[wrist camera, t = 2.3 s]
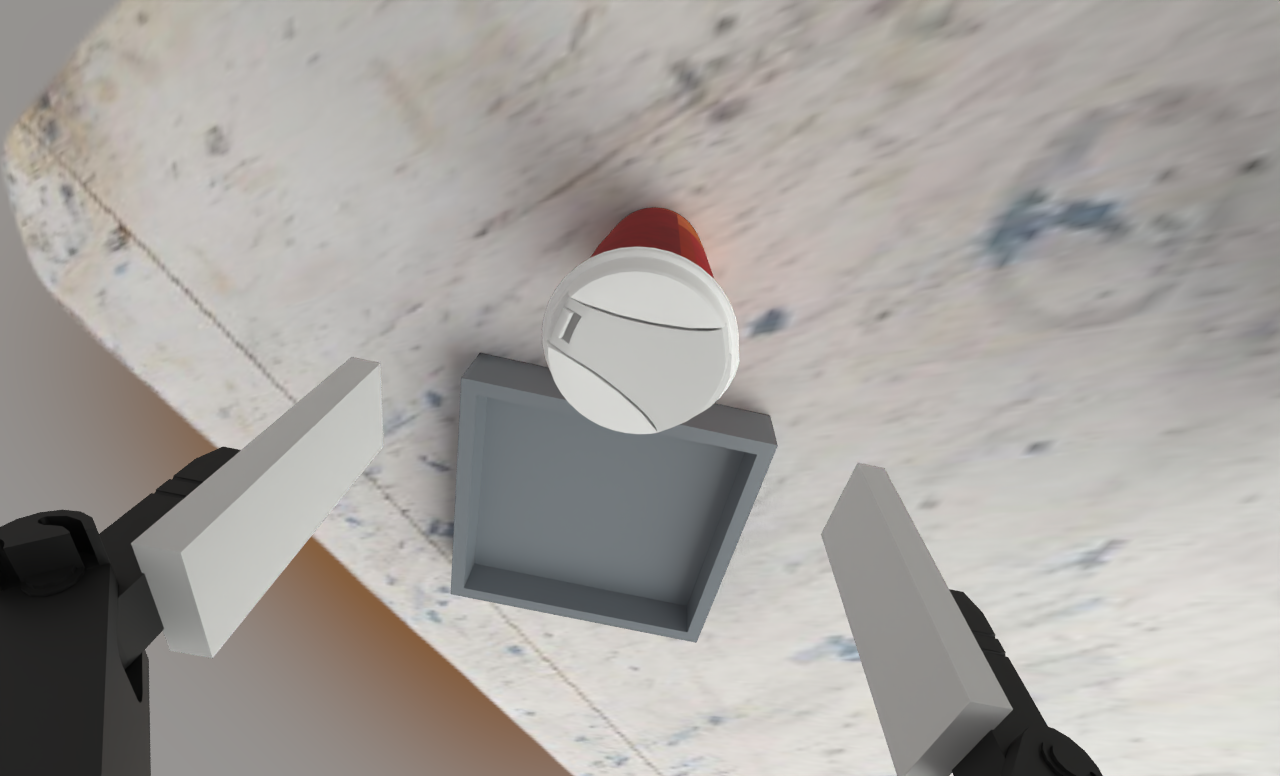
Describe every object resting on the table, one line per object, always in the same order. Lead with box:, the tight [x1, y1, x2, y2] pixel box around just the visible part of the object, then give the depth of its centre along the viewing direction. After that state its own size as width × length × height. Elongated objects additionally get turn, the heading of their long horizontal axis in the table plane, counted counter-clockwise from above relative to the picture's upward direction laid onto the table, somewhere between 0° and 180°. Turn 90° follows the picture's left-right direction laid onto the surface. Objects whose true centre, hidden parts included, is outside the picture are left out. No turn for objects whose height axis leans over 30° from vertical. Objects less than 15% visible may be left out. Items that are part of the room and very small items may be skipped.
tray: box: [451, 353, 778, 642], centre depth 40 cm, size 20×20×4 cm
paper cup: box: [542, 208, 740, 434], centre depth 26 cm, size 8×8×14 cm
